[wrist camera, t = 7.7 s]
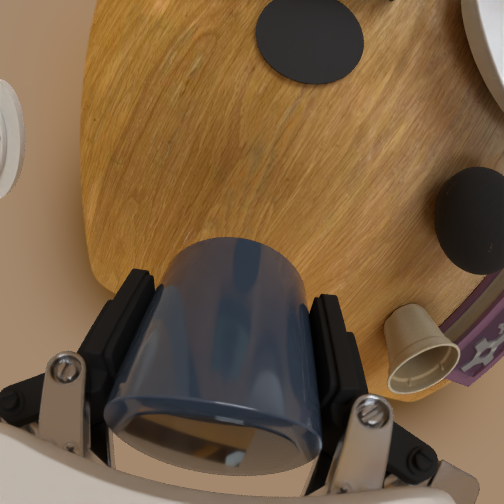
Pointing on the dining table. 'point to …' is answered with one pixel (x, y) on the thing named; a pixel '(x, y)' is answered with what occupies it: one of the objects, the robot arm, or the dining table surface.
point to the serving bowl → (487, 41)
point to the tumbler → (222, 365)
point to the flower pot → (417, 350)
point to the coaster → (310, 39)
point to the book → (478, 330)
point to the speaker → (472, 220)
